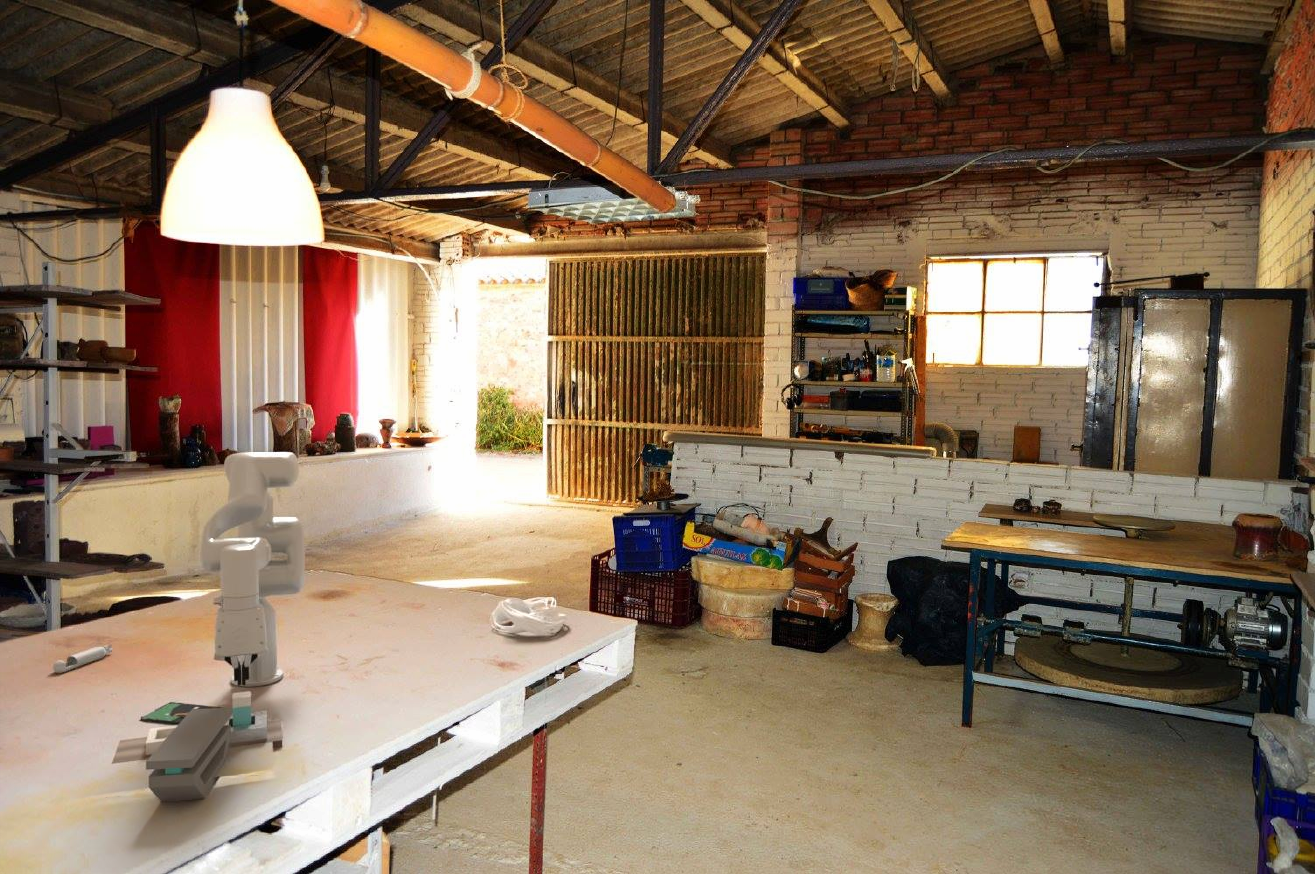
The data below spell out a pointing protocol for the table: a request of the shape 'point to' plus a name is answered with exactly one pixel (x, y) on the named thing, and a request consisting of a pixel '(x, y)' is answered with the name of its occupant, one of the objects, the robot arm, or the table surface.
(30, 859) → the table surface
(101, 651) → the torpedo
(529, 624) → the coil
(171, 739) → the grey slotted long block
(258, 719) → the port
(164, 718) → the disk drive
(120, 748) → the board
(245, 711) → the plug
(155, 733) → the cream square frame
